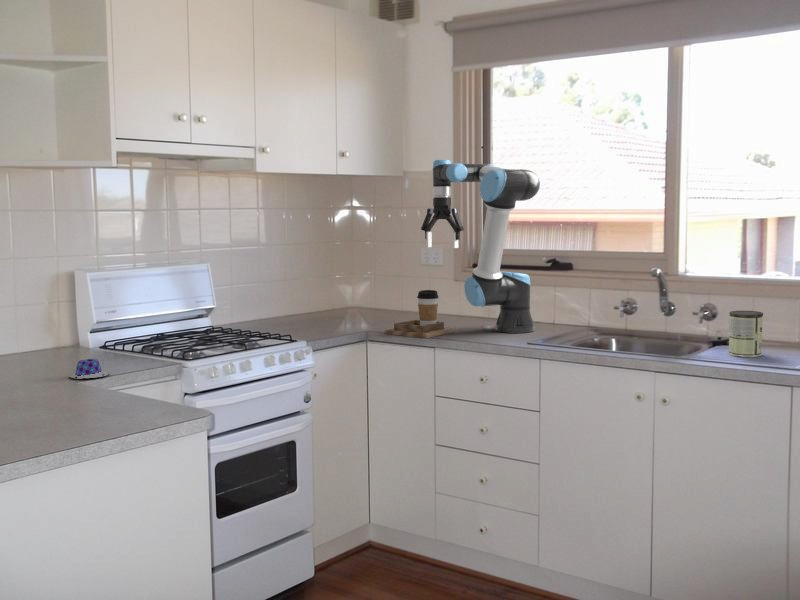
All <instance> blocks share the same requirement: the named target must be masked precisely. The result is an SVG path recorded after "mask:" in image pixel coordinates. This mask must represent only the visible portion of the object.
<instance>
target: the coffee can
mask: <svg viewBox="0 0 800 600" xmlns="http://www.w3.org/2000/svg"><path fill="white" fill-rule="evenodd" d="M763 316H764V312H761V311H757V310H732V311H729V330H728V331H729V338H728V355H729V356H732V355H733V356H732V357H737V356H741V357H740V358H758V357H761V356H763V355H762V353H763V351H762V350H763V349H762V346H763V318H764V317H763Z"/></svg>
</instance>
